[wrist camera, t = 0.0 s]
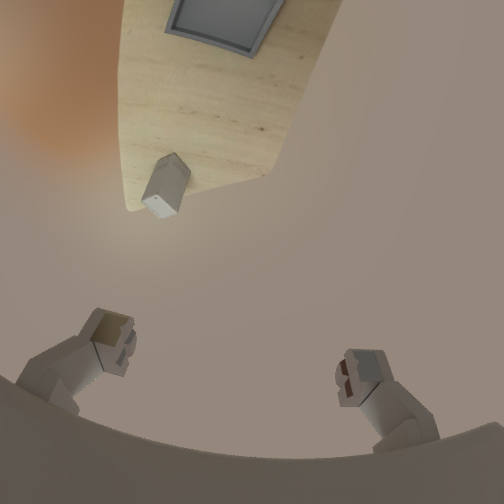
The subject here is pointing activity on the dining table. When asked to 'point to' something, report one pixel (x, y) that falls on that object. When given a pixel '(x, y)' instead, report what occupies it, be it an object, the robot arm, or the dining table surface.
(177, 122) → the dining table surface
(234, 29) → the parts tray
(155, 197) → the skincare box
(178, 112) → the dining table surface
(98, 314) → the robot arm
